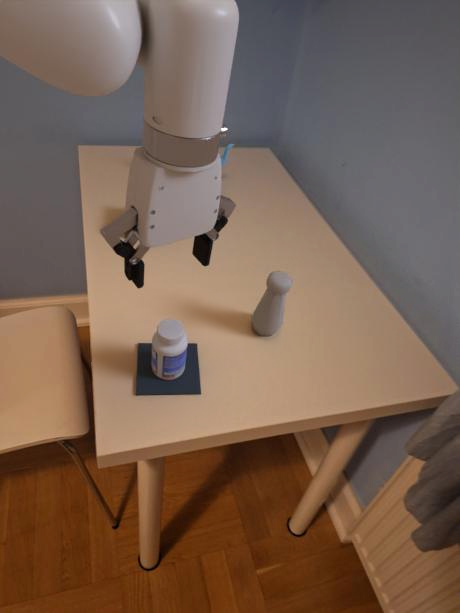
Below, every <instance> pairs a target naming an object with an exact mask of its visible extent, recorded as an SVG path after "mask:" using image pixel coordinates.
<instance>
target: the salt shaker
mask: <svg viewBox="0 0 460 613" xmlns="http://www.w3.org/2000/svg"><path fill="white" fill-rule="evenodd" d="M265 281H266V282H265V284H266V285H265V286H266V289H265V291H264V293H263V294H262V297H261V298H260V300H259V302H258V303H257V305H256V307H255V309H254V310H253V312H252V315H251V323H252V327H253V330H254V331H255V332H256V333H257V334H258V335H259V336H261V337H272V336H274V334H276V333H277V332H279V330H281V328H282V326H283V325H284V318H285V308H286V300H287V299H286V298H287V293H289V292H290V291H291V289H292V287H293V283H294V282H293V278H292V277H291V276H290V274H288V273H287V272H285V271H282V270H274V271H272V272H270V273H269V274H268V276H267V277H266V280H265Z"/></svg>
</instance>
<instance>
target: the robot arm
mask: <svg viewBox="0 0 460 613" xmlns="http://www.w3.org/2000/svg"><path fill="white" fill-rule="evenodd" d="M239 23H240V11H239V7H238V4H237V1H236V0H0V57H1V58H3V59H5V60H6V61H8V62H9V63H12V64H13V65H15V66H16V67H18V68H20V69H21V70H23V71H24V72H27V73H28V74H30V75H32V76H33V77H35V78H36V79H39V80H41V81H42V82H44V83H46V84H48V85H50V86H53V87H54V88H56V89H58V90H60V91H63V92H67V93H68V94H69V93H70V94H72V95H76V96H80V97H86V98H97V97H99V98H100V97H104V96H107V95H110V94H113V93H114V92H115V91H117V90H119V89H120V88H121V87H122V86H124V84H125V83H126V82H127V81H128V80H129V78H130V77H131V75H132V73H133V71H134V69H135V66H136V65H137V66H139V67H141V68H142V69H143V72H144V82H143V123H142V124H143V126H142V131H143V132H142V146H139V147H136V148H135V149H134V153H133V155H132V159H131V163H130V166H129V172H128V178H127V185H126V194H125V206H124V207H125V209H124V212H123V213H121V214H120V215H119V216H117V217H116V218H114V219H113V220H112V221H110V222H108V224H106V225H105V226H103V227H102V228H101V229H100V230H99V231H100V232H99V233H100V235H101V236H102V238H103V239H104V241H106V243H107V244H108V245H109V247H110V248H111V249H112V251H114V253H115V254H116V255H118V256H119V257H121V258H123V266H124V269H123V271H124V275H125V278H126V279H127V280H128V281H131V282H132V284H134V286H135V287H136V288H137V289H138V290H139V289H143V287H144V286H145V266H146V265H145V262H144V261H143V258H144V256H145V255H146V254H147V253H148V251H149V250H150V249H151V248H157V247H162V246H165V245H169V244H172V243H177V242H180V241H184V240H187V239H191V238H193V243H192V251H191V254H192V256H193V257H194V258H195V259H196V260H197V261H198V263H199V264H201V265H202V266H203V267H208V266H210V262H211V257H212V252H213V247H214V246H213V245H214V242H215V241H217V240H218V239H219V237H220V234H219V233H220V232H221V231H222V230H223V228H225V227H226V225H227V224H228V223H229V218H230V217H231V215H232V214H233V212H234V210H235V209H236V207H237V204H236V202H234V201H233V200H232V199H231V198H230V197H227V196H226V195H222V194H221V193H222V174H223V173H222V168H221V156H222V155H221V154H220V152H219V148H220V142H221V139H222V138H226V137H227V136H228V132H229V130H228V126H227V124H225V123H224V117H225V112H226V105H227V99H228V93H229V87H230V81H231V74H232V68H233V61H234V56H235V49H236V43H237V38H238V37H237V36H238V31H239ZM130 229H132V231H131V232H130V233H129V235H128V236H127V237H126V239H125V238H124V240H122V239H121V237H122V235H125V232H127V231H128V230H130ZM138 241H139V243H138V245H137V246H136V247H135V245H136V243H137V242H138Z"/></svg>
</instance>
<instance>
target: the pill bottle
mask: <svg viewBox="0 0 460 613" xmlns="http://www.w3.org/2000/svg"><path fill="white" fill-rule="evenodd" d="M151 343H152V363H151V364H152V370H153V372H154V374H155V375H156V376H158V377H159V378H161V379H164V380H172V379H175V378H178V377H179V376H180V375H181V374H182V373H183V372H184V369H185V363H186V354H187V345H188V343H189V339H188V336H187V333H185V326H184V324H183V323H182V322H181V321H179V320H178V319H176V318H166V319H163V320H161V321H160V322H159V323H158V324H157V327H156V331H155V332H154V333H153V335H152V337H151Z"/></svg>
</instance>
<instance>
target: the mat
mask: <svg viewBox="0 0 460 613" xmlns="http://www.w3.org/2000/svg"><path fill="white" fill-rule="evenodd" d="M137 344H138V345H137V358H136V359H137V361H136V362H137V363H136V380H135V381H136V383H135V396H136V397H137V396H183V395H185V396H186V395H188V396H189V395H202V389H201V388H202V387H201V376H200V375H201V374H200V362H199V353H198V352H199V351H198V342H197V343H195V342H192V343H191V342H188V345H187V354H186V363H185V369H184V372H183V373H182V374H181V375H180V376H179V377H178V378H175V379H172V380H164V379H161V378H159V377H158V376H156V375H155V374H154V372H153V370H152V364H151V363H152V342H138V343H137Z"/></svg>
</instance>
